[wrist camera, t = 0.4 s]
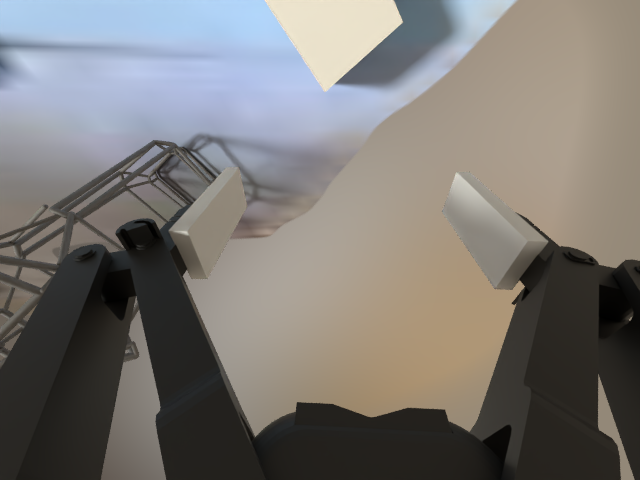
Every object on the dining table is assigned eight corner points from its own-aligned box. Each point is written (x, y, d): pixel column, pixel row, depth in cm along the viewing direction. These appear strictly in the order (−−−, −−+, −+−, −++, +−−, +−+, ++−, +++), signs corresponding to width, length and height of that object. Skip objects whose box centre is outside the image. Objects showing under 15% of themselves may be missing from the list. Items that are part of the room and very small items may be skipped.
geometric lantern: (248, 191, 43) (102, 434, 16) (192, 228, 49) (13, 454, 22) (175, 109, 36) (-369, 304, 8) (118, 164, 41) (-312, 389, 14)
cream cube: (281, 12, 29) (264, -1, 22) (343, -61, 25) (347, -106, 18) (326, 83, 33) (324, 92, 26) (386, 29, 29) (403, 22, 22)
